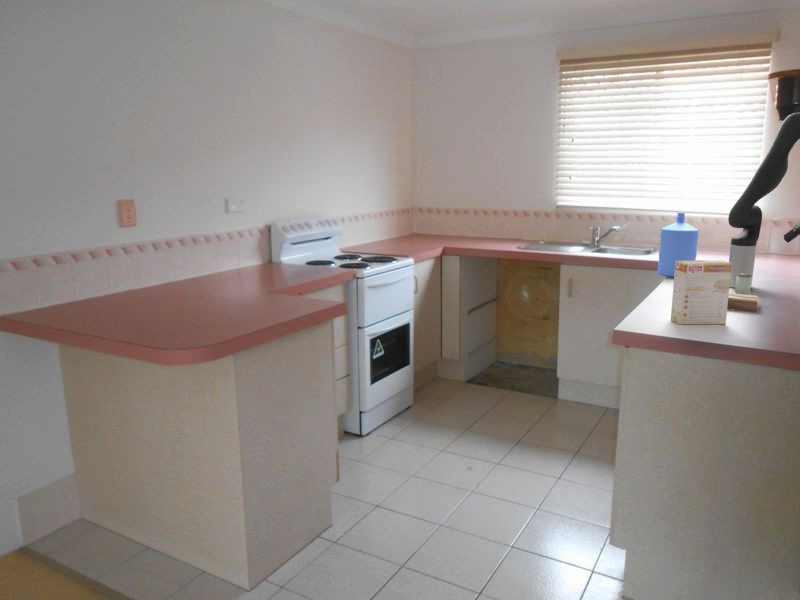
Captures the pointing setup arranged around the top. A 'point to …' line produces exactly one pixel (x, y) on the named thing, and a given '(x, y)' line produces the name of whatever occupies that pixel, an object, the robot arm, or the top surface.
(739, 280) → the spice jar
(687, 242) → the water jug
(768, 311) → the top surface
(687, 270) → the coffeecake box
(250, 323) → the top surface
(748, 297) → the walnut plinth
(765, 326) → the top surface
